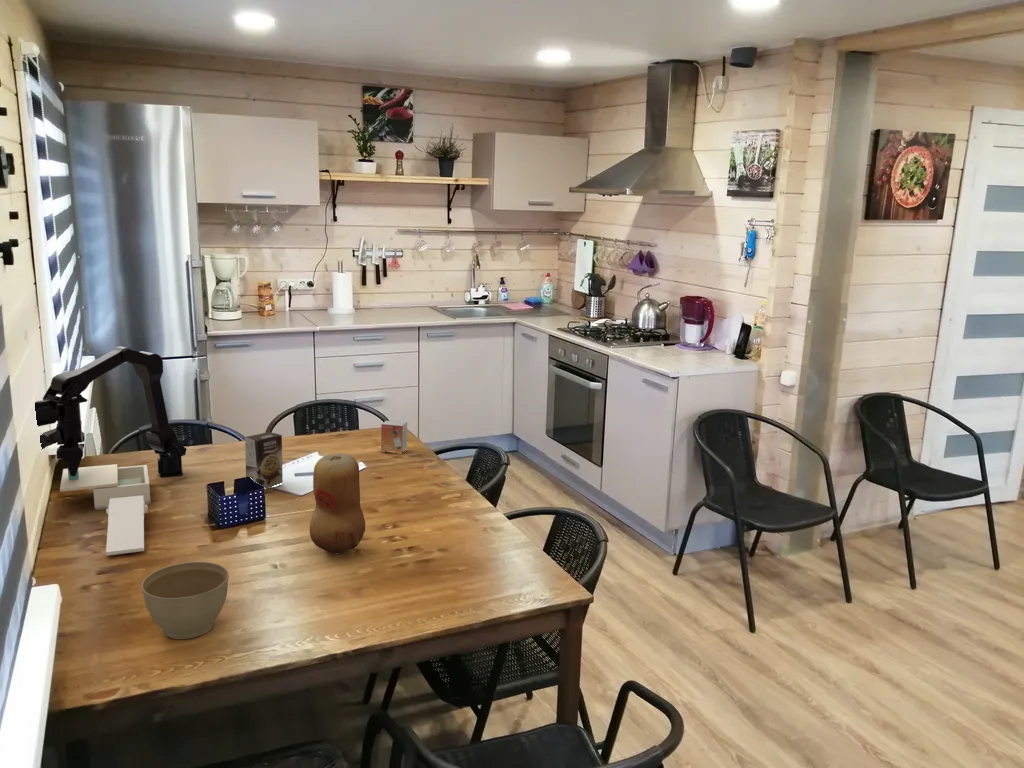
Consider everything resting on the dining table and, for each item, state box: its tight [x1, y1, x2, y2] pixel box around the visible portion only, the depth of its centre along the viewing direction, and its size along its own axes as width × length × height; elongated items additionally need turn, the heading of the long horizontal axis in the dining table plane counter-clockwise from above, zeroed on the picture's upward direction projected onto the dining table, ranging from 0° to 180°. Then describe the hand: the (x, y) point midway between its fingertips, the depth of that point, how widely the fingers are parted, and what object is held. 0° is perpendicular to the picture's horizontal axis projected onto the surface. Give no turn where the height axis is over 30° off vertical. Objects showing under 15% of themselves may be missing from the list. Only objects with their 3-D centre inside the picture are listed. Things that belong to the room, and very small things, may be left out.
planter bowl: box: [141, 561, 230, 640], centre depth 161 cm, size 16×16×11 cm
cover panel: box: [59, 463, 118, 493], centre depth 226 cm, size 14×18×6 cm
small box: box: [380, 420, 408, 452], centre depth 283 cm, size 8×6×10 cm
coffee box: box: [244, 431, 284, 490], centre depth 243 cm, size 9×6×16 cm
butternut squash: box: [309, 452, 366, 554], centre depth 198 cm, size 14×13×25 cm
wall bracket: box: [105, 495, 149, 557], centre depth 206 cm, size 10×7×28 cm
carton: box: [93, 464, 151, 511], centre depth 231 cm, size 14×18×6 cm
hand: (73, 473), depth 225 cm, fingers closed on cover panel, 4 cm apart
